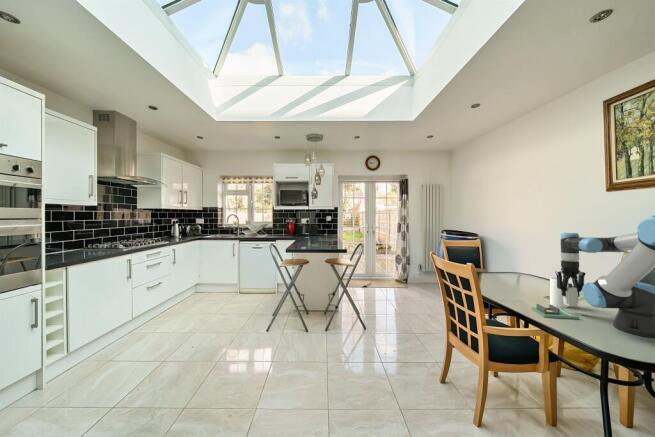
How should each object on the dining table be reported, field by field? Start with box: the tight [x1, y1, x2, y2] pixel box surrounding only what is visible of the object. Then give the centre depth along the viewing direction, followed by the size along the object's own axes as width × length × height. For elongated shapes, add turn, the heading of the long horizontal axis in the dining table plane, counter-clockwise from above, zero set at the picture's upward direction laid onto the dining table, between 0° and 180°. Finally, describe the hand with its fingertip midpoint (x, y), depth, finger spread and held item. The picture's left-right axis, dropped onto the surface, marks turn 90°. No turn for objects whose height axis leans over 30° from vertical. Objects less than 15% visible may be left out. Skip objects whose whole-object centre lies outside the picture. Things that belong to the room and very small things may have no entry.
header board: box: [531, 303, 580, 320], centre depth 144 cm, size 12×16×4 cm
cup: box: [549, 276, 569, 309], centre depth 157 cm, size 8×8×16 cm
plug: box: [564, 282, 578, 307], centre depth 145 cm, size 4×4×12 cm
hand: (570, 302), depth 145 cm, fingers closed on plug, 4 cm apart
